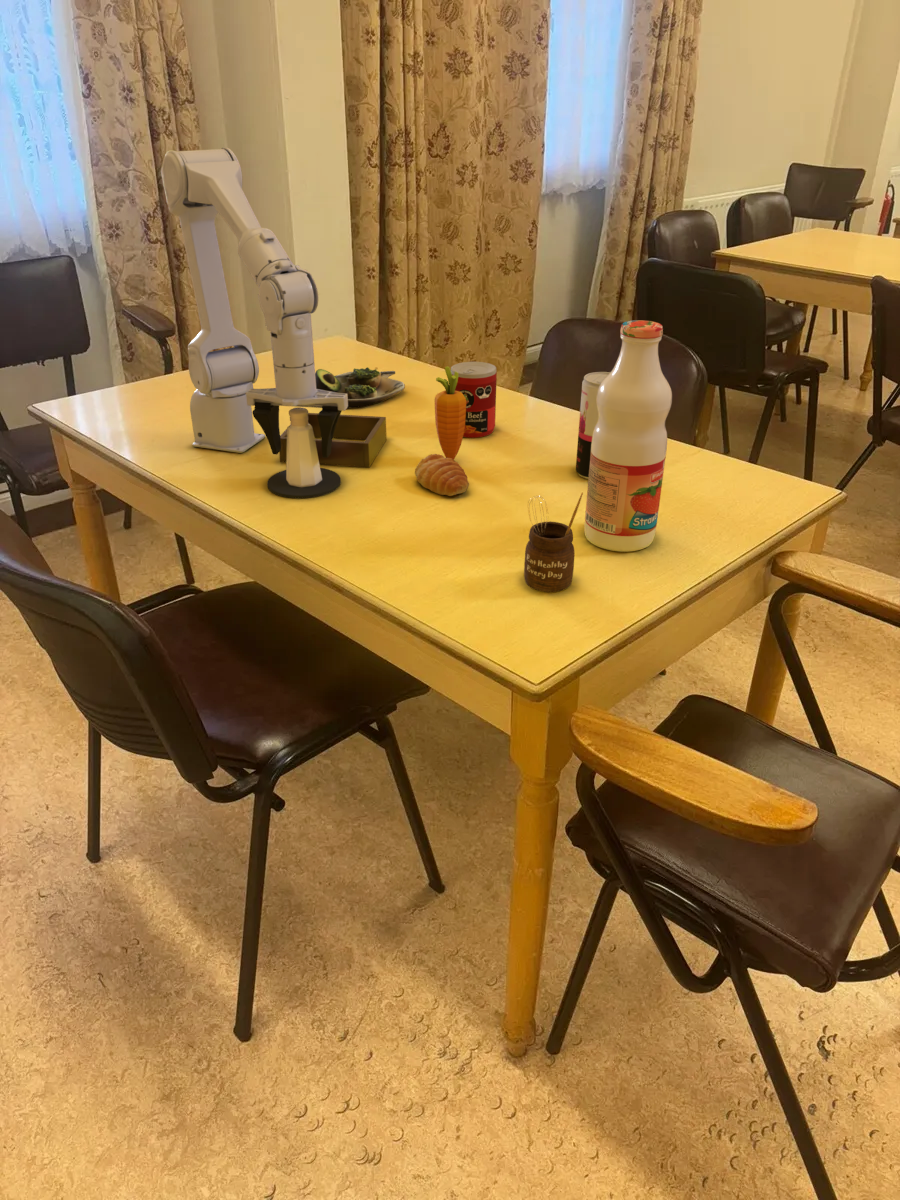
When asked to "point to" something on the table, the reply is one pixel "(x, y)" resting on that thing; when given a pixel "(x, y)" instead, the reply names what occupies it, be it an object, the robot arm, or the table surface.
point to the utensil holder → (549, 554)
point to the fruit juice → (629, 444)
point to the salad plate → (360, 385)
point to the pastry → (441, 475)
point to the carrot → (450, 415)
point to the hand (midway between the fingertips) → (301, 453)
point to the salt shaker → (301, 451)
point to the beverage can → (588, 420)
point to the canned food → (477, 396)
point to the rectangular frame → (347, 451)
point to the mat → (282, 487)
